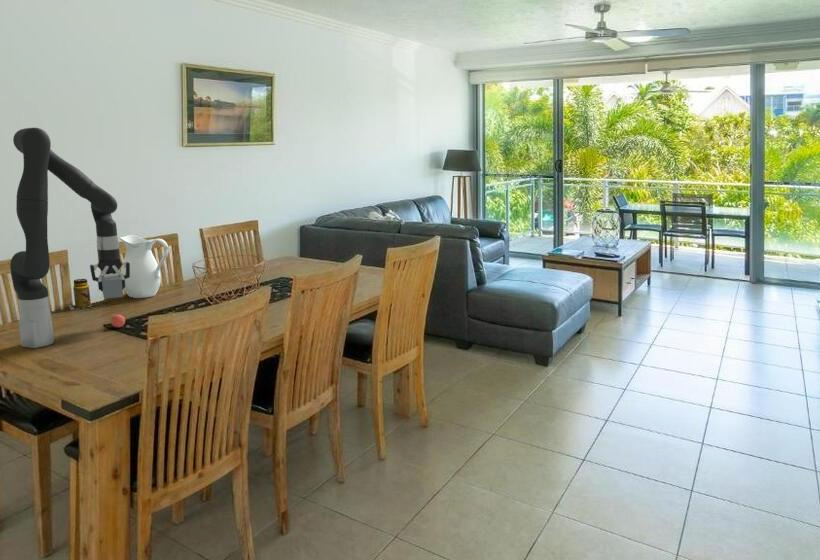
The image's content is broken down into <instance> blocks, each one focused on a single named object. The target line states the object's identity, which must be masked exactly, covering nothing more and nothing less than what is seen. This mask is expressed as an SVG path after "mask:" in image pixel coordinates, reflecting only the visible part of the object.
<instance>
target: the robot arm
mask: <svg viewBox="0 0 820 560" xmlns="http://www.w3.org/2000/svg"><path fill="white" fill-rule="evenodd" d="M12 141H13V145H14V147H15V149H16V150H18V151H19V152H20V153H21V154H22V156H23V170H22V175H21V178H20V179H19V180H20V181H19V183H18V187H17V191H16V202H15V203H16V206H15V207H16V208H15V210H16V216H17V219H18V222H19V225H20V227H21V228H22V229H21V230H22V231H23V234H24V237H25V250H23V251H18V252H16V253H14V254H13V256H12V258H11V259H10V265H9V267H10V275H11V280H12V281H11V282H12V286H13V289H14V292H15V293H16V295H17V302H18V308H19V316H20V318H19V320H18V329H19V335H20V338H19V339H20V344H21V347H24V348H30V349H37V348H42V347H46V346H49V345H52V344H54V342H55V337H54V329H53V323H52V313H51V305H50V297H49V296H50V295H49V290H48V288H47V286H45V285H44V283H42V281H41V279H43V278H45V277H46V276H47V275H48V273H49V269H50V265H51V263H50V262H51V261H50V252H49V243H48V241H49V240H48V216H49V215H48V213H49V192H48V191H49V180H48V179H49V178H48V177H49V176H48V171H49V172H50V173H52V174H53V175H54V176H55V177H56V178H57V179H59V180H60V181H61V182H62V183H64V184H65V185H66V186H67V187H68V188H69V189H70V190H72V191H73V192H75V194H77V195H78V196H79V197H80V198H82V199H84V200H87V201H88V202H89V203H90V209H91V210H90V211H91V214H92V217H93V221H94V223H95V230H96V233H95V234H96V249H97V258H98V262H97V264H90V266H89V267H90V268H89V269H90V273H91V279H92V281H94V282H97V286H98V290H99V291H100V292H102V291H103V287H102V278H103V277H104V275H105V274H118V275H119V276H120V277H121V279H122V289H123V290H125V289H124V288H125V279H126V278H129V277H130V264H129V262H124V261H123V262H122V261H121V253H120V243H119V242H120V241H119V236H118V228H117V224H116V223H117V222H116V221H115V220H114V219H113V216H112V214H113V213H115V212H116V211H117V209H118V203H117V202H118V201H117V200H116V198H115V197H114V196H112V195H111V194H110V193H109V192H108V191H106V190H105V189H104V188H102V187H101V186H98V185H97V184H96V183H95V182H94V181H93V180H92V179H91V178H90V177H89V176H87V175H86V174H85V173H84V172H83V171H82V170H80V169H79V168H77V167H76V166H74V165H73V164H71V163H70V162H68V161H66V160H65V159H63V157H60V156H59V155H58V154H56V153H55V151H53V150H52V149H51V148H52V147H51V146H52V145H51V144H52V142H51V138H50V136H49V134H48V133H47V132H46V131H45V130H43V129H42V128H39V127H27V128H26V127H25V128H21V129H19V130H17V131H16V132H15V133H14V135H13V139H12ZM122 265H123V266H124V268H126V275H124V276H123V274H122V273H121V270H120V269H121V268H122ZM97 268H98V269H99V270H100V273H99V275H98V277H97V276H96V270H97Z"/></svg>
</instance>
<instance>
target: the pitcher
mask: <svg viewBox="0 0 820 560" xmlns="http://www.w3.org/2000/svg"><path fill="white" fill-rule="evenodd" d="M118 240H120V241H121V242H122V243H123V244H124V245H125V248H126V249H125V256H124V259H123V262H129V264H130V277H129V278H126V279H125V288H124V289H123V290H124V291H125V292H126V294H127V295H128V297H130V298H132V297H133V298H132V299H146V298H151V297H154V296H155V295H156V294H157V292H158V291H159V289H160V285H161V281H162V277H161V276H162V275H161V270H160V269H161V267H162V265H163V264H164V262H165V261H166V259H167V257H168V255H169V250H170V249H169V245H168V243H167V242H166V240H164V239H163V238H154V239H153V238H152V239H145V238H143V237H140V236H138V235H137V234H136V235H135V234H128V235H125V236H122V237H120V236H118ZM155 243H159V244H161V245H162V246H163V250H164V251H163V256H162V258H161V259H160V261H159V262H157V260H156V258H155V255H154V254H153V252H152V248H153V245H154V244H155ZM120 269H121V270H120V272H121V273H122V274H123V276H124V275H126V268H124V266H123V265H122V266H121V268H120Z"/></svg>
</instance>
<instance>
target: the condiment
mask: <svg viewBox="0 0 820 560" xmlns="http://www.w3.org/2000/svg"><path fill="white" fill-rule="evenodd" d="M72 289H73V297H74V304H71V305H68V307H69V309H70V310H72V311H73V310H80V308H82V309H86V308H85V307H89V306H93V305H92V303H91V296H90V295H91V294H90V285H88V279H86V278H78V279H77V278H76V279H74V280H73V288H72ZM72 307H73V308H72ZM75 308H76V309H75Z"/></svg>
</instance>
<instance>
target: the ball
mask: <svg viewBox="0 0 820 560" xmlns="http://www.w3.org/2000/svg"><path fill="white" fill-rule="evenodd" d="M125 323H126V318H125V317H124V316H123V315H122V314H114V315H113V316H111V319H110V324H111V326H113V327H114V328H121V327H123V326H124V325H125Z"/></svg>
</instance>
